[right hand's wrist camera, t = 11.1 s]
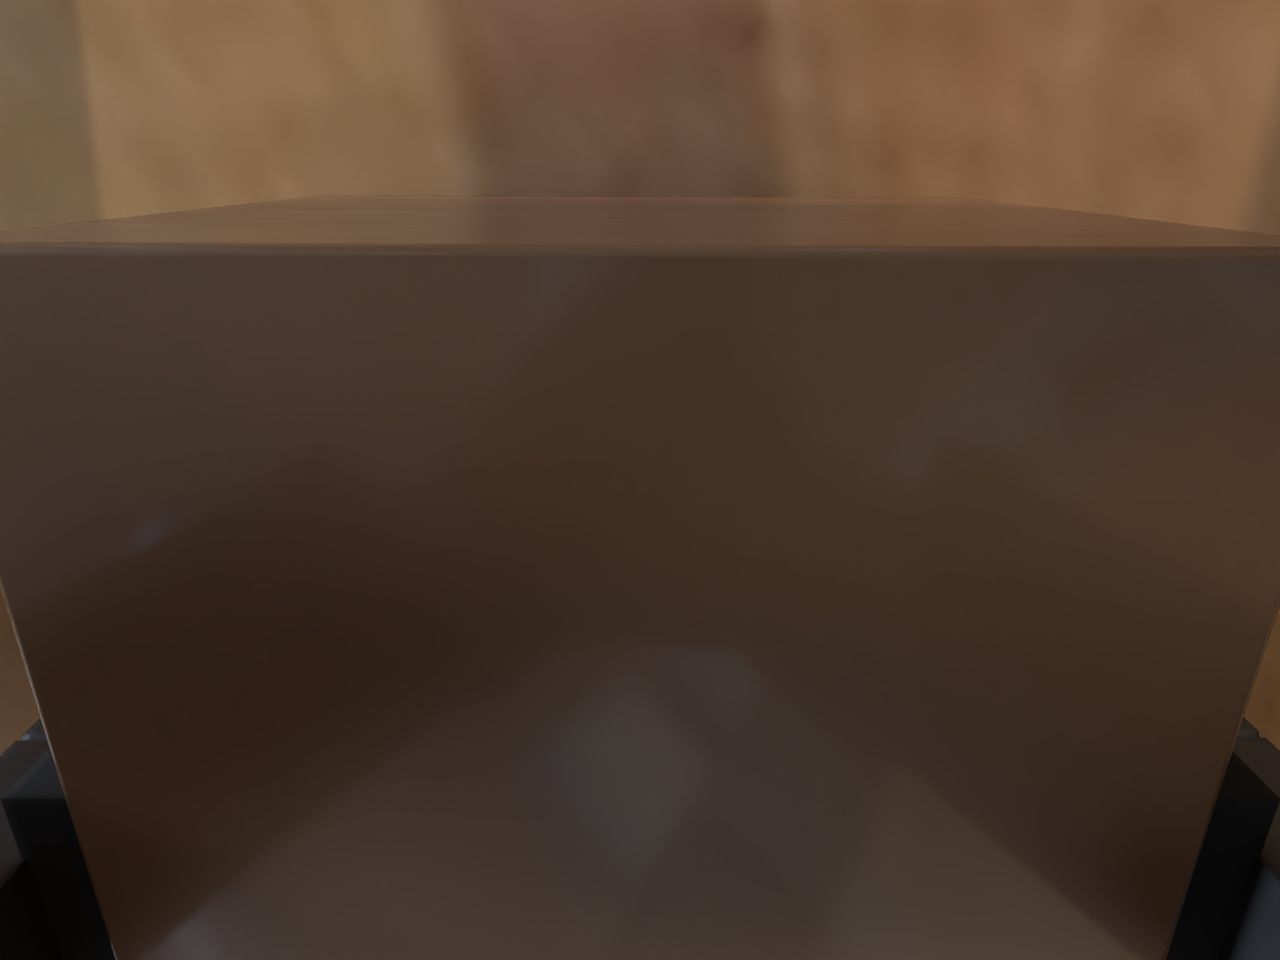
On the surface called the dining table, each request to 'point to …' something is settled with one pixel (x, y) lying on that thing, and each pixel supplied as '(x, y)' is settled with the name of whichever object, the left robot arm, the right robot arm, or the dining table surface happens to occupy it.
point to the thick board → (640, 571)
